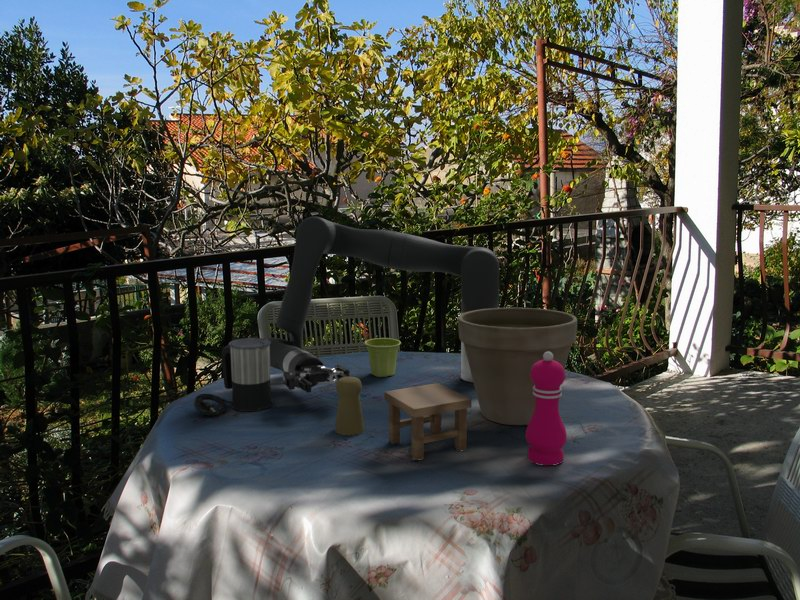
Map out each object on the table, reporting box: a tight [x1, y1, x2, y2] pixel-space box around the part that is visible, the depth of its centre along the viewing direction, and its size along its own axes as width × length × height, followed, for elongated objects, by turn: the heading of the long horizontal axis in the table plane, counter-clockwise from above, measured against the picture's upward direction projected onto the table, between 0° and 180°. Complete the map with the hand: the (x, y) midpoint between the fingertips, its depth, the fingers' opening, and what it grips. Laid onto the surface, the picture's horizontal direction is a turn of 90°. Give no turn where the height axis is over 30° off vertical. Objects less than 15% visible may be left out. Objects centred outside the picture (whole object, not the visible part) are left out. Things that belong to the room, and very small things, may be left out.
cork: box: [334, 376, 366, 436], centre depth 140 cm, size 6×6×11 cm
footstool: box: [383, 382, 472, 461], centre depth 131 cm, size 12×12×10 cm
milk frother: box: [193, 337, 274, 416], centre depth 154 cm, size 14×16×15 cm
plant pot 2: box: [457, 307, 578, 426], centre depth 148 cm, size 25×25×22 cm
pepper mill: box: [525, 351, 568, 465], centre depth 124 cm, size 7×7×20 cm
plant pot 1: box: [364, 337, 402, 378], centre depth 181 cm, size 9×9×9 cm
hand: (328, 385), depth 149 cm, fingers open, 8 cm apart
